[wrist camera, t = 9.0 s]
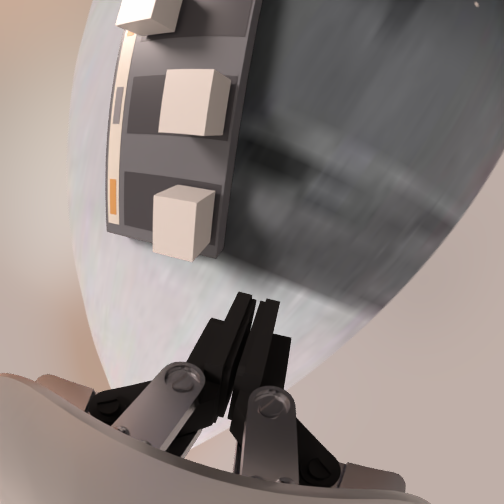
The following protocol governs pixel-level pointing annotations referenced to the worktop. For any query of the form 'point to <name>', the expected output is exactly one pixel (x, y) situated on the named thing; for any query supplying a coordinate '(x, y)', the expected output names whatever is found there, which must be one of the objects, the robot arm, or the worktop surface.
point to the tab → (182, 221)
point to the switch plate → (149, 108)
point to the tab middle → (194, 102)
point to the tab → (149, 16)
